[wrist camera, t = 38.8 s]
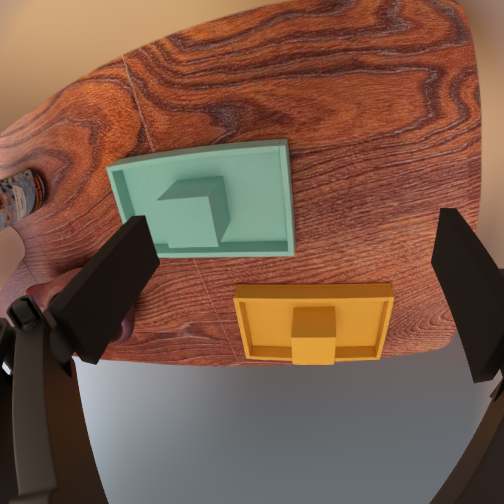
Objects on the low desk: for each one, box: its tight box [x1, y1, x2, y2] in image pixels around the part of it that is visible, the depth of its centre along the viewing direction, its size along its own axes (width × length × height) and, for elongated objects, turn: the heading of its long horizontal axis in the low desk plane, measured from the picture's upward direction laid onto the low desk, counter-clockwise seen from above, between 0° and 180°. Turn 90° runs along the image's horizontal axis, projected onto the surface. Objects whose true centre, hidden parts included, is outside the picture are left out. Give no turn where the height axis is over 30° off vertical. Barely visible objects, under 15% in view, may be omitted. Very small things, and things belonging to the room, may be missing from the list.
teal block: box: [156, 176, 230, 248], centre depth 30 cm, size 5×5×5 cm
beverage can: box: [0, 168, 44, 231], centre depth 30 cm, size 6×7×12 cm
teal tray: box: [106, 139, 296, 258], centre depth 31 cm, size 18×11×3 cm, turn 97°
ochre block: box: [291, 307, 336, 365], centre depth 37 cm, size 5×5×5 cm
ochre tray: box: [233, 283, 394, 361], centre depth 38 cm, size 18×11×3 cm, turn 97°
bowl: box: [26, 268, 135, 346], centre depth 40 cm, size 16×13×8 cm
